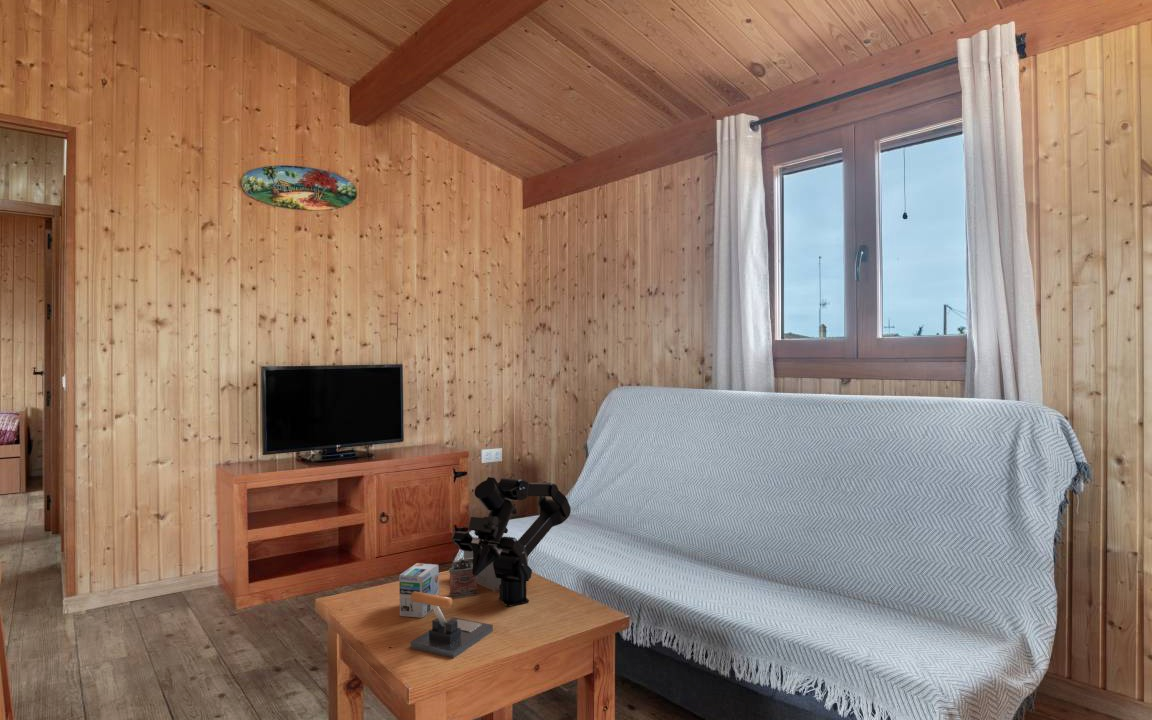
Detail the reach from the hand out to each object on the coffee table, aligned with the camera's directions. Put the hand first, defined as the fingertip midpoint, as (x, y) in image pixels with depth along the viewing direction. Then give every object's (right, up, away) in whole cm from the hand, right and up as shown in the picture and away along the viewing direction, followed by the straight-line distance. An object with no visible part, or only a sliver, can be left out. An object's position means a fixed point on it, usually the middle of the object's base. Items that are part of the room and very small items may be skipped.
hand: (474, 574), depth 165 cm
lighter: (-6, -13, +22) cm, 26 cm away
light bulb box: (-16, -13, +11) cm, 23 cm away
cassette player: (-2, -13, +31) cm, 34 cm away
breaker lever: (-5, -8, -11) cm, 15 cm away
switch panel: (-4, -13, -8) cm, 15 cm away
